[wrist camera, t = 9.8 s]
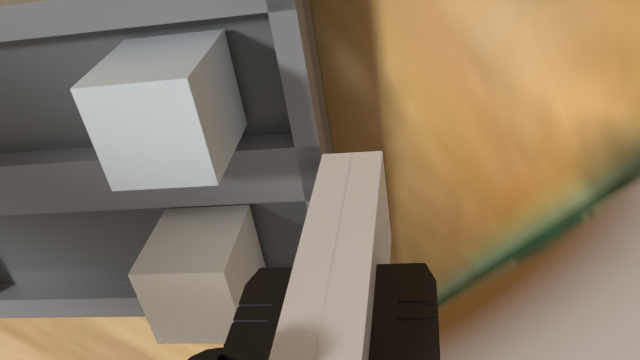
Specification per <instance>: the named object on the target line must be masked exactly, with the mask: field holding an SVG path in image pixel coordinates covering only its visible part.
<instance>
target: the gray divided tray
mask: <svg viewBox="0 0 640 360" xmlns="http://www.w3.org/2000/svg"><path fill="white" fill-rule="evenodd" d="M220 29H224V31H225V35H226V39H227V43H228V47H229V51H230V55H231V59H232V64H233V68H234V72H235V76H236V80H237V84H238V88H239V92H240V97H241V101H242V105H243V109H244V113H245V117H246V121H247V126H246V128H245V130H244V132H243V135H242V137H241V139H240V141H239V143H238V145H237V147H236V149H235V151H234V154H233V156H232V158H231V160H230V162H229V164H228V166H227V168H226V170H225V172H224V175H223V177H222V179H221V181H220V183H219V185H218V186H199V187H181V188H163V189H145V190H126V191H112V190H111V188H110V185H109V183H108V180H107V178H106V176H105V173H104V171H103V168H102V166H101V163H100V161H99V159H98V156H97V154H96V151H95V149H94V146H93V144H92V142H91V139H90V137H89V134H88V132H87V130H86V127H85V125H84V122H83V120H82V117H81V115H80V113H79V110H78V108H77V105H76V103H75V100H74V98H73V96H72V93H71V91H70V88H71V87H72V86H74V85H75V84H76V83H77V82H78V81H79V80H80V79H81V78H82V77H84V76H85V75H86V74H87V73H88V72H89V71H90V70H91V69H93V68H94V67H95V66H96V65H97V64H98V63H99V62H100V61H101V60H103V59H104V58H105V57H106V56H107V55H108V54H109V53H110V52H111V51H113V50H114V49H115V48H116V47H117V46H118V45H119V44H120V43H121V42H123V41H124V40H126V39H136V38H145V37H155V36H164V35H173V34H183V33H192V32H201V31H211V30H220ZM322 154H334V153H333V146H332V140H331V134H330V127H329V121H328V115H327V108H326V102H325V95H324V89H323V83H322V76H321V70H320V64H319V57H318V51H317V45H316V38H315V32H314V26H313V19H312V13H311V6H310V0H0V318H43V317H130V316H145V314H144V311H143V309H142V307H141V304H140V302H139V300H138V297H137V295H136V293H135V291H134V288H133V286H132V284H131V281H130V279H129V277H128V274H129V272H130V270H131V268H132V267H133V265H134V263H135V261H136V260H137V258H138V256H139V254H140V253H141V251H142V249H143V247H144V246H145V244H146V242H147V240H148V239H149V237H150V235H151V233H152V232H153V230H154V228H155V226H156V225H157V223H158V221H159V219H160V218H161V216H162V214H163V212H164V211H165V209H172V208H193V207H214V206H235V205H249V206H250V209H251V213H252V217H253V221H254V225H255V228H256V232H257V236H258V240H259V244H260V247H261V251H262V255H263V259H264V263H265V267H266V268H271V267H293V264H294V261H295V257H296V253H297V249H298V245H299V242H300V238H301V234H302V230H303V226H304V222H305V219H306V215H307V211H308V207H309V203H310V199H311V196H312V192H313V188H314V184H315V180H316V176H317V173H318V169H319V165H320V161H321V157H322Z"/></svg>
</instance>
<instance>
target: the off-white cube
mask: <svg viewBox="0 0 640 360" xmlns="http://www.w3.org/2000/svg"><path fill="white" fill-rule="evenodd" d="M259 268H266V267H265V263H264V259H263V255H262V251H261V247H260V244H259V240H258V236H257V232H256V228H255V225H254V221H253V217H252V213H251V209H250V206H249V205H235V206H214V207H193V208H172V209H165V211H164V212H163V214H162V216H161V218H160V219H159V221H158V223H157V225H156V226H155V228H154V230H153V232H152V233H151V235H150V237H149V239H148V240H147V242H146V244H145V246H144V247H143V249H142V251H141V253H140V254H139V256H138V258H137V260H136V261H135V263H134V265H133V267H132V268H131V270H130V272H129V274H128V277H129V279H130V281H131V284H132V286H133V288H134V291H135V293H136V295H137V297H138V300H139V302H140V304H141V307H142V309H143V311H144V314H145V316H146V318H147V320H148V323H149V325H150V327H151V330H152V332H153V334H154V336H155V339H156V341H157V343H158V344H164V343H225V341H226V338H227V335H228V333H229V330H230V327H231V324H232V323H233V318H234V315H235V312H236V310H237V307H239V301H240V298H241V295H242V292H243V289H244V287H245V284H246V283H247V282H248V281H249V280H250V279H251V277H252V276H253V275H254V274H255V273H256V272H257V271H258V270H259Z"/></svg>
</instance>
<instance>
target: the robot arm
mask: <svg viewBox="0 0 640 360" xmlns="http://www.w3.org/2000/svg"><path fill="white" fill-rule="evenodd" d="M390 254H391V229H390V219H389V209H388V200H387V190H386V180H385V171H384V161H383V152H382V151H371V152H353V153H335V154H322V157H321V161H320V165H319V169H318V173H317V176H316V180H315V184H314V188H313V192H312V196H311V199H310V203H309V207H308V211H307V215H306V219H305V222H304V226H303V230H302V234H301V238H300V242H299V245H298V249H297V253H296V257H295V261H294V264H293V267H271V268H259V270H258V271H257V272H256V273H255V274H254V275H253V276H252V277H251V279H250V280H249V281H248V282H247V283H246V284H245V287H244V289H243V292H242V295H241V298H240V301H239V307H237V310H236V312H235V315H234V318H233V323H232V324H231V327H230V330H229V333H228V335H227V338H226V341H225V344H224V347H223V348H215V349H208V350H205V351H203V352H200V353H198V354H196V355H194V356H192V357H190V358H189V359H188V360H440V346H439V324H438V304H437V286H436V280H435V278H434V276H433V275H432V273H431V272H430V270H429V268H428V267H427V265H426V264H425V263H410V264H390Z"/></svg>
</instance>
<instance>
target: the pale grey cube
mask: <svg viewBox="0 0 640 360" xmlns="http://www.w3.org/2000/svg"><path fill="white" fill-rule="evenodd" d="M70 91H71V93H72V96H73V98H74V100H75V103H76V105H77V108H78V110H79V113H80V115H81V117H82V120H83V122H84V125H85V127H86V130H87V132H88V134H89V137H90V139H91V142H92V144H93V146H94V149H95V151H96V154H97V156H98V159H99V161H100V163H101V166H102V168H103V171H104V173H105V176H106V178H107V180H108V183H109V185H110V188H111V190H112V191H126V190H145V189H163V188H181V187H199V186H218V185H219V183H220V181H221V179H222V177H223V175H224V172H225V170H226V168H227V166H228V164H229V162H230V160H231V158H232V156H233V154H234V151H235V149H236V147H237V145H238V143H239V141H240V139H241V137H242V135H243V132H244V130H245V128H246V126H247V121H246V117H245V113H244V109H243V105H242V101H241V97H240V92H239V88H238V84H237V80H236V76H235V72H234V68H233V64H232V59H231V55H230V51H229V47H228V43H227V39H226V35H225V31H224V29H220V30H211V31H201V32H192V33H183V34H173V35H164V36H155V37H145V38H136V39H126V40H124V41H123V42H121V43H120V44H119V45H118V46H117V47H116V48H115V49H114V50H113V51H111V52H110V53H109V54H108V55H107V56H106V57H105V58H104V59H103V60H101V61H100V62H99V63H98V64H97V65H96V66H95V67H94V68H93V69H91V70H90V71H89V72H88V73H87V74H86V75H85V76H84V77H82V78H81V79H80V80H79V81H78V82H77V83H76V84H75V85H74V86H72V87H71V88H70Z"/></svg>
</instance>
